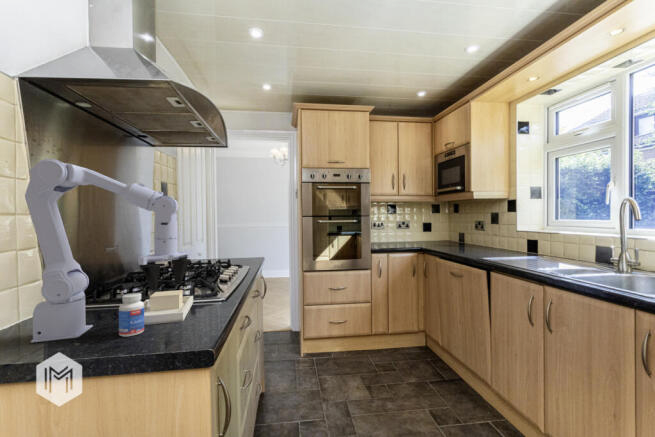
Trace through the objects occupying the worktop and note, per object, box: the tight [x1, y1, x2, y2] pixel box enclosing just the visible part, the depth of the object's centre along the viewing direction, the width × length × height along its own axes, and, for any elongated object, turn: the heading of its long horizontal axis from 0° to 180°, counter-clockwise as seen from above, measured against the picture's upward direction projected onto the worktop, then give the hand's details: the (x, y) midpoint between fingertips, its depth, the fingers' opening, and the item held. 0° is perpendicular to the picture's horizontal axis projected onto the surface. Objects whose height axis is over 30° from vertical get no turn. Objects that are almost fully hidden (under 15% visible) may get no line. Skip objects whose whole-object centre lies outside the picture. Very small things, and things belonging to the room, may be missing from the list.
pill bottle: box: [118, 292, 145, 338], centre depth 74 cm, size 6×5×10 cm
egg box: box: [149, 289, 184, 311], centre depth 93 cm, size 8×6×4 cm
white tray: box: [142, 295, 194, 326], centre depth 89 cm, size 14×18×2 cm
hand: (166, 286), depth 82 cm, fingers open, 7 cm apart
